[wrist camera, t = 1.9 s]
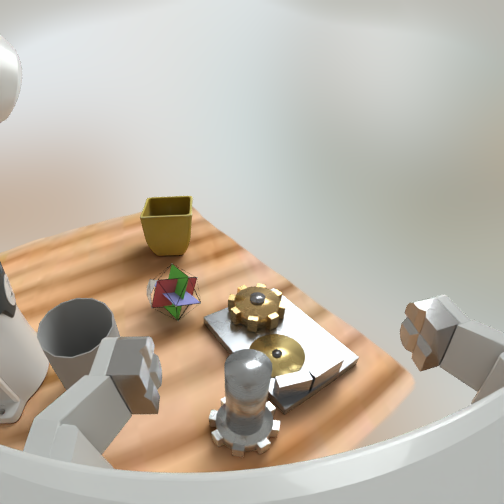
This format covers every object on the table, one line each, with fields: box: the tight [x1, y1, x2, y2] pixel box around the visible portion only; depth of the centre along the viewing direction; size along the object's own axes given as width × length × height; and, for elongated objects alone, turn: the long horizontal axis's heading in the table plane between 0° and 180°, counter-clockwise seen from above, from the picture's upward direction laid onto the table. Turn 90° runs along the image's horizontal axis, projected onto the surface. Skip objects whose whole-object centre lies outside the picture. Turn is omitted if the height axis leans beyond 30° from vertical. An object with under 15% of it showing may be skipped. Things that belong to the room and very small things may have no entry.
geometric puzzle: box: [147, 264, 201, 321], centre depth 42 cm, size 7×7×8 cm
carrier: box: [204, 288, 359, 414], centre depth 38 cm, size 12×17×4 cm
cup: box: [37, 298, 120, 390], centre depth 28 cm, size 8×8×10 cm
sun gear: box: [228, 284, 286, 332], centre depth 41 cm, size 8×8×4 cm
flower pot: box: [140, 196, 193, 256], centre depth 55 cm, size 9×9×9 cm
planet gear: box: [209, 349, 280, 457], centre depth 25 cm, size 7×7×11 cm
